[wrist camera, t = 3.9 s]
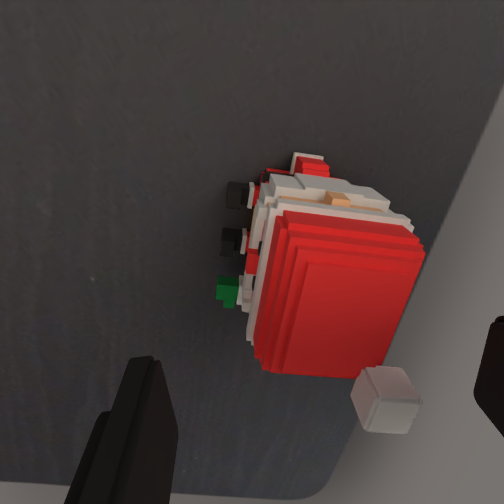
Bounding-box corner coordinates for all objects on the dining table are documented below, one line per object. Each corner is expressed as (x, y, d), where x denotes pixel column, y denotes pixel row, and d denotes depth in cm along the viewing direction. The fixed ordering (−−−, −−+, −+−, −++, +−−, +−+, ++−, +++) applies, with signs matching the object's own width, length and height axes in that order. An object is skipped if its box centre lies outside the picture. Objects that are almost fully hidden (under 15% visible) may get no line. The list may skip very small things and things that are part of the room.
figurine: (233, 140, 19) (236, 209, 8) (356, 158, 20) (504, 243, 9) (216, 275, 23) (203, 446, 12) (321, 286, 24) (398, 456, 13)
